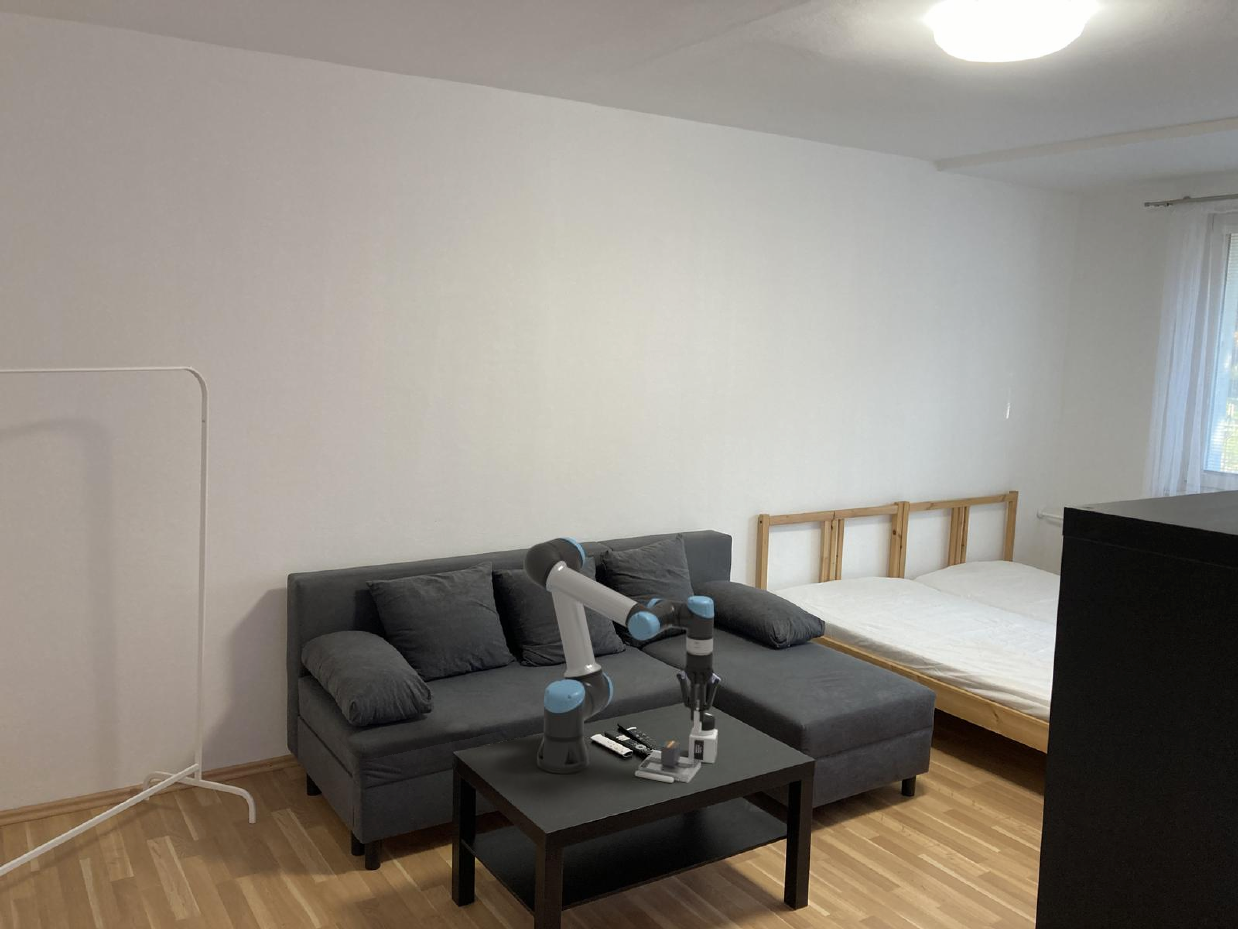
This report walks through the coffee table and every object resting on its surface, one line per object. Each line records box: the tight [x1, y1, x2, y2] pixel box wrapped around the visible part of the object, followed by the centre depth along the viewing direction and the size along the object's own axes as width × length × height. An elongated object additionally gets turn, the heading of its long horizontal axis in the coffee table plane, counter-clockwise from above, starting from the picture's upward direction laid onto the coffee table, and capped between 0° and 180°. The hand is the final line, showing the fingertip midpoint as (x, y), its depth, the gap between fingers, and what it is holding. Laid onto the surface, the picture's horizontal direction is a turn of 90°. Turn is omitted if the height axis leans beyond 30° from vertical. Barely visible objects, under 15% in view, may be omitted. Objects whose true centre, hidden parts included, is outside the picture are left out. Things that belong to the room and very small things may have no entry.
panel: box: [638, 752, 702, 783], centre depth 289 cm, size 15×12×2 cm
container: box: [688, 712, 719, 764], centre depth 298 cm, size 8×8×13 cm
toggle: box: [660, 740, 681, 766], centre depth 288 cm, size 4×5×5 cm
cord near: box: [634, 770, 675, 784], centre depth 282 cm, size 12×2×2 cm, turn 68°
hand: (697, 732), depth 285 cm, fingers closed
